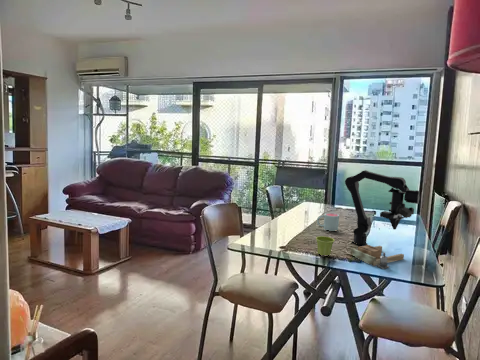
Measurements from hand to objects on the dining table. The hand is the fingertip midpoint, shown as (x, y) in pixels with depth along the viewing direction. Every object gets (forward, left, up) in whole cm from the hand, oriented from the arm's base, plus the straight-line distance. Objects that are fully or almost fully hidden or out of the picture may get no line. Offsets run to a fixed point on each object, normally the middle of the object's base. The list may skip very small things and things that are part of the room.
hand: (394, 229), depth 198 cm
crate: (+4, -23, -12) cm, 26 cm away
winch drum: (+15, -25, -12) cm, 31 cm away
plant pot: (-10, -40, -12) cm, 43 cm away
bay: (+4, -17, -12) cm, 21 cm away
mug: (-46, -5, -12) cm, 48 cm away
